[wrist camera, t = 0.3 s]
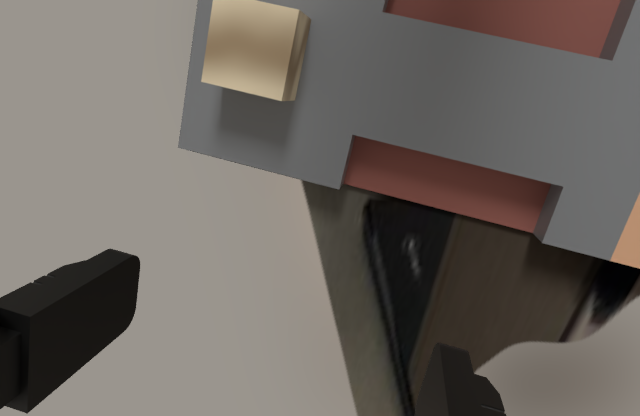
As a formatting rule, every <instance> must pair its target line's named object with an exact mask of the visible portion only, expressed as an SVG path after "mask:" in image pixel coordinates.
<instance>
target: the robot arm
mask: <svg viewBox="0 0 640 416" xmlns="http://www.w3.org/2000/svg"><path fill="white" fill-rule="evenodd" d="M139 272H140V260H139V258H138V257H137V256H134V255H131V254H128V253H124V252H121V251H117V250H113V249H108V250H105V251H104V252H102V253H100V254H98V255H96V256H94V257H92V258H90V259H88V260H86V261H81V262H77V263H73V264H69V265H65V266H62V267H60V268H59V269H56V270H54V271H52V272H50V273H49V274H48V275H47V276H42V277H41V278H39V279H37V280H35V281H34V283H29V284H27V285H25V286H23V287H21V288H19V289H17V290H15V291H13V292H11V293H9V294H7V295H5V296H3V297H1V298H0V409H1V408H3V407H4V406H7V407H10V408H13V409H16V410H19V411H22V412H25V413H28V412H29V411H31V410H32V409H33V408H34V407H35V406H37V405H38V404H39V403H40V402H41V401H42V400H44V399H45V398H46V397H47V396H48V395H50V394H51V393H52V392H53V391H54V390H55V389H57V388H58V387H59V386H60V385H61V384H63V383H64V382H65V381H66V380H67V379H68V378H70V377H71V376H72V375H73V374H74V373H76V372H77V371H78V370H79V369H80V368H81V367H83V366H84V365H85V364H86V363H87V362H89V361H90V360H91V359H92V358H93V357H94V356H96V355H97V354H98V353H99V352H100V351H102V350H103V349H104V348H105V347H106V346H107V345H109V344H110V343H111V342H112V341H113V340H114V339H116V338H117V337H118V336H119V335H120V334H122V333H123V332H124V331H125V330H126V329H127V327H128V326H129V325H130V323H131V321H132V319H133V316H134V314H135V309H136V301H137V292H138V281H139ZM504 411H505V410H504V407H503V404H502V400H501V397H500V394H499V393H498V392H497V390H496V389H495V388H494V387H493V385H492V384H491V383H490V381H489V380H488V379H487V378H486V377H483V376H479V375H476V374H474V372H473V368H472V364H471V360H470V356H469V352H468V351H467V350H463V349H460V348H456V347H453V346H449V345H445V344H442V343H436V345H435V347H434V349H433V352H432V355H431V358H430V361H429V364H428V367H427V371H426V374H425V377H424V380H423V383H422V386H421V389H420V392H419V395H418V399H417V404H416V410H415V416H506V414H504Z"/></svg>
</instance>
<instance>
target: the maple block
mask: <svg viewBox="0 0 640 416" xmlns="http://www.w3.org/2000/svg"><path fill="white" fill-rule="evenodd" d="M310 24H311V19H310V18H309V17H308V16H306V15H305V14H304V13H303V12H302V11H300V10H298V9H294V8H289V7H284V6H280V5H275V4H271V3H266V2H261V1H257V0H213V3H212V10H211V17H210V24H209V31H208V38H207V45H206V52H205V59H204V66H203V73H202V80H201V82H205V83H209V84H213V85H217V86H221V87H225V88H229V89H233V90H238V91H242V92H246V93H250V94H254V95H258V96H262V97H266V98H271V99H275V100H279V101H295V98H296V93H297V88H298V83H299V78H300V73H301V68H302V63H303V58H304V53H305V48H306V43H307V38H308V33H309V29H310Z"/></svg>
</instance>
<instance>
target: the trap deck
mask: <svg viewBox="0 0 640 416" xmlns="http://www.w3.org/2000/svg"><path fill="white" fill-rule="evenodd" d="M257 1H261V2H266V3H271V4H275V5H280V6H284V7H289V8H294V9H298V10H300V11H302V12H303V13H304V14H305V15H306V16H308V17H309V18H310V19H311V24H310V29H309V33H308V38H307V43H306V48H305V53H304V58H303V63H302V68H301V73H300V78H299V83H298V88H297V93H296V98H295V101H279V100H275V99H271V98H266V97H262V96H258V95H254V94H250V93H246V92H242V91H238V90H233V89H229V88H225V87H221V86H217V85H213V84H209V83H205V82H201V80H202V73H203V66H204V59H205V52H206V45H207V38H208V31H209V24H210V17H211V10H212V3H213V0H198V4H197V12H196V19H195V26H194V34H193V41H192V49H191V56H190V63H189V71H188V78H187V86H186V93H185V100H184V108H183V116H182V123H181V130H180V137H179V145H178V147H179V148H182V149H186V150H190V151H193V152H197V153H201V154H205V155H209V156H212V157H216V158H220V159H224V160H228V161H231V162H235V163H239V164H243V165H247V166H251V167H254V168H258V169H262V170H266V171H270V172H274V173H277V174H281V175H285V176H289V177H293V178H296V179H300V180H304V181H308V182H311V183H315V184H319V185H323V186H327V187H331V188H334V189H338V190H339V189H340V188H341V186H342V185H343V184H347V185H350V186H354V187H358V188H362V189H366V190H370V191H373V192H377V193H381V194H385V195H389V196H393V197H396V198H400V199H404V200H408V201H412V202H416V203H420V204H423V205H427V206H431V207H435V208H439V209H443V210H446V211H450V212H454V213H458V214H462V215H466V216H469V217H473V218H477V219H481V220H485V221H489V222H492V223H496V224H500V225H504V226H508V227H512V228H516V229H519V230H523V231H527V232H531V233H533V234H534V235H535V236H536V237H537V238H538V239H539V240H540V241H541V242H542V243H544V244H548V245H552V246H555V247H559V248H563V249H567V250H571V251H575V252H578V253H582V254H586V255H590V256H594V257H597V258H601V259H605V260H609V261H613V262H616V263H620V264H624V265H628V266H632V267H635V268H639V269H640V0H257Z"/></svg>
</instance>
